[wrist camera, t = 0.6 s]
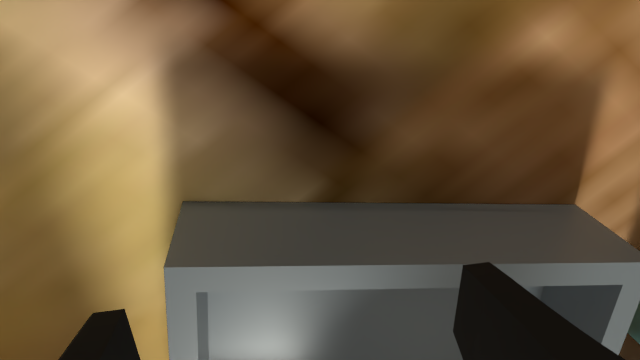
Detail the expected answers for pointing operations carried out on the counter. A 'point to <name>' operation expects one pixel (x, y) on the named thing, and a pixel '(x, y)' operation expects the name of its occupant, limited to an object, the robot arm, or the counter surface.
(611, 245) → the grey tote
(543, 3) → the counter surface
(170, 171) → the counter surface
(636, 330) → the teal capsule
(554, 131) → the counter surface
